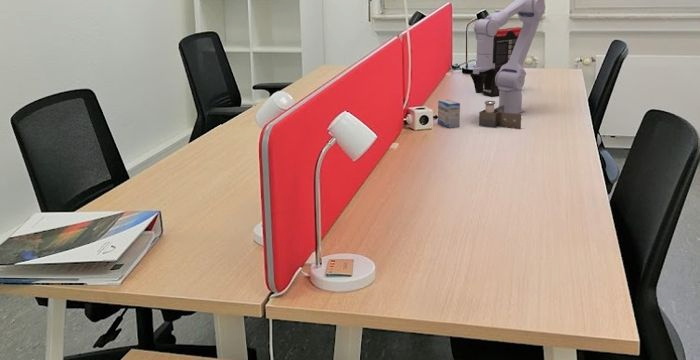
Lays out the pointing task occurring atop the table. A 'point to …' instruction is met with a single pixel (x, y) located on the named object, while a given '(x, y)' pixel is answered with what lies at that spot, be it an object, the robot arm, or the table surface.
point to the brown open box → (502, 118)
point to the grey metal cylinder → (489, 106)
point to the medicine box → (448, 113)
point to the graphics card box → (502, 52)
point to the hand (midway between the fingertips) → (483, 91)
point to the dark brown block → (489, 122)
